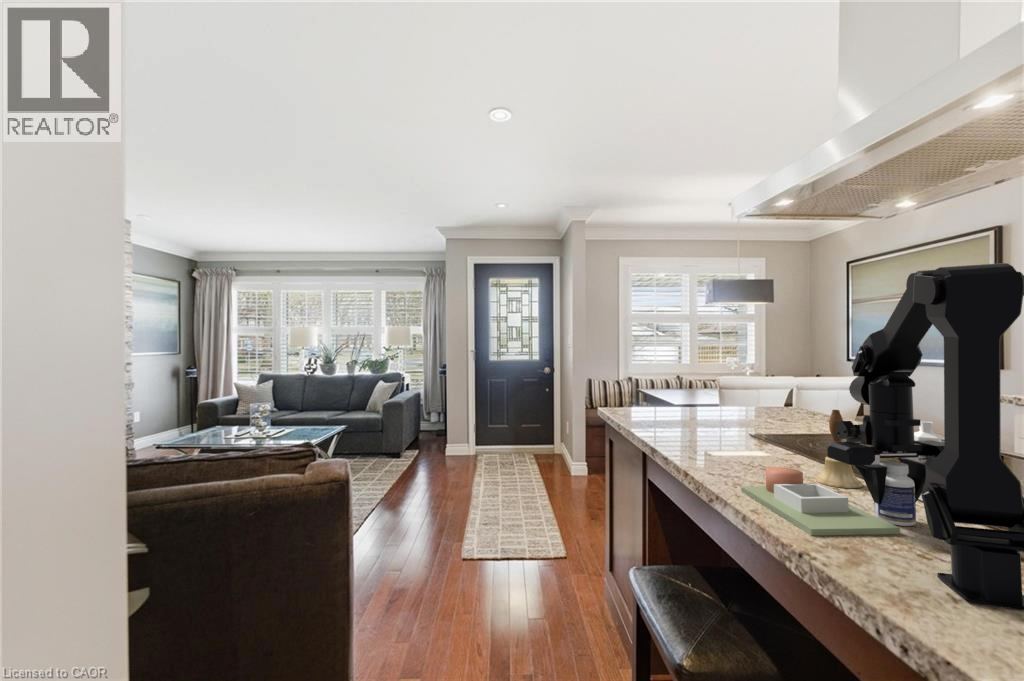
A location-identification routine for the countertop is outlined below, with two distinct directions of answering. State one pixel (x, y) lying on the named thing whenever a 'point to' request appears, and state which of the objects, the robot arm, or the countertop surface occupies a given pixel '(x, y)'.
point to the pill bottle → (897, 496)
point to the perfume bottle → (926, 435)
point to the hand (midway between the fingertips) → (894, 502)
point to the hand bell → (837, 463)
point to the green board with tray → (814, 506)
